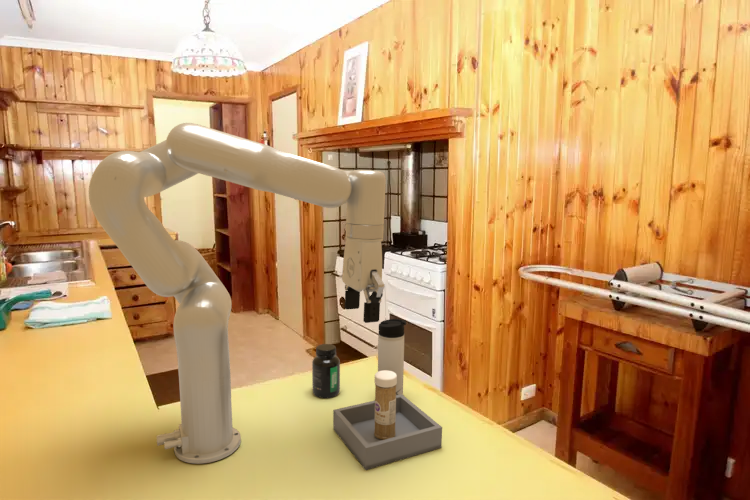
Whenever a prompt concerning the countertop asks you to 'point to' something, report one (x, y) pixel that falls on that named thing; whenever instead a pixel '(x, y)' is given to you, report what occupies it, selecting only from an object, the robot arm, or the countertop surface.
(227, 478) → the countertop surface
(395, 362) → the travel mug
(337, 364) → the supplement bottle
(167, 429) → the countertop surface
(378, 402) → the sprinkles bottle
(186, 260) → the robot arm
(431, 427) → the tray
